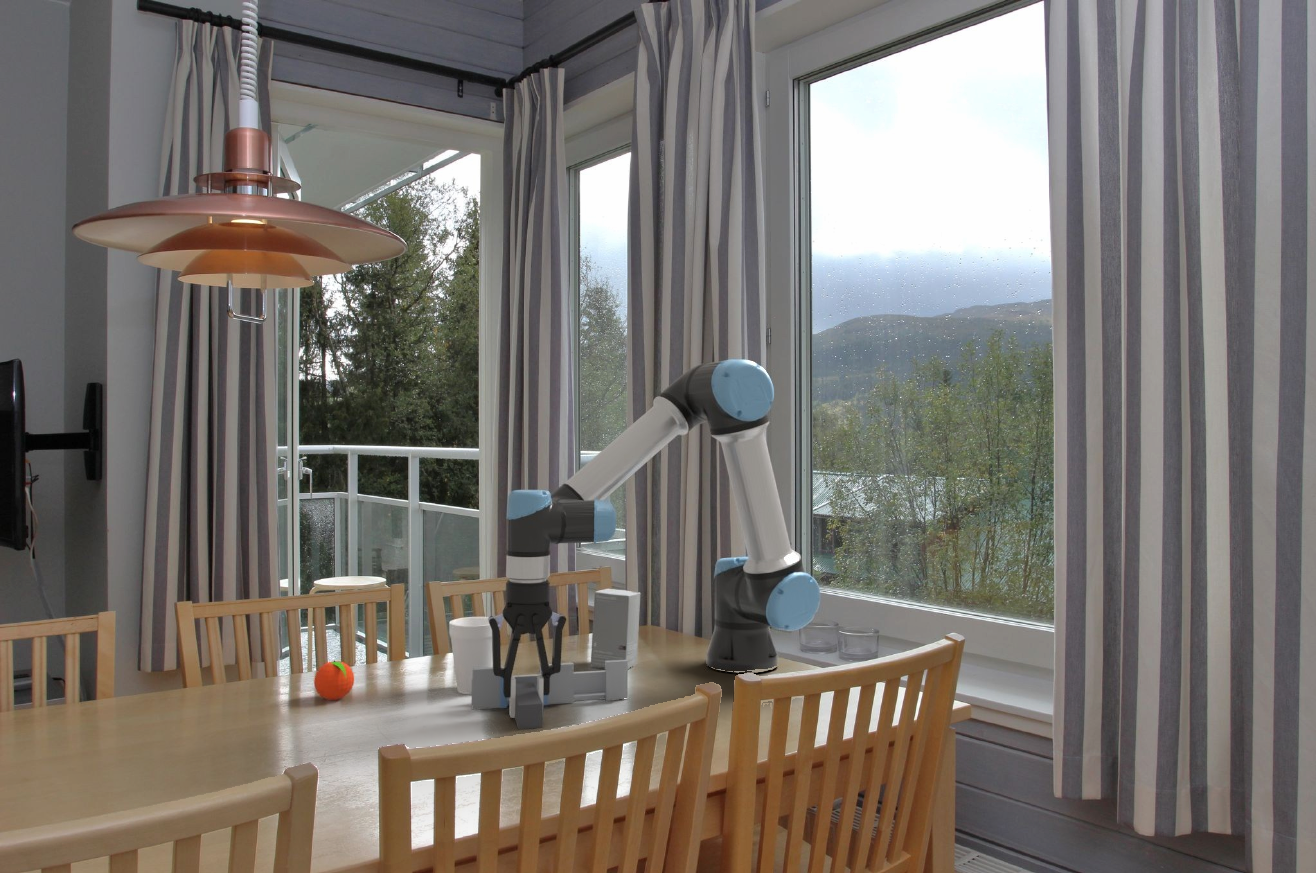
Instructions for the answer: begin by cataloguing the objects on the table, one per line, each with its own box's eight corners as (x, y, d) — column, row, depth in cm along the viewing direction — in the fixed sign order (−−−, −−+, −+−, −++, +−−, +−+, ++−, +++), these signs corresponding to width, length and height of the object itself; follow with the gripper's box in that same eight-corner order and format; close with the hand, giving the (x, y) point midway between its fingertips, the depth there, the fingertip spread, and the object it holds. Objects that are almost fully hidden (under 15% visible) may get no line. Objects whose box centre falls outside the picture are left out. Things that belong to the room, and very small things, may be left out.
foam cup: (487, 697, 173) (488, 627, 173) (440, 694, 175) (441, 625, 175) (506, 684, 183) (506, 617, 183) (461, 681, 184) (461, 615, 184)
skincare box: (590, 667, 196) (590, 592, 196) (604, 660, 203) (605, 586, 203) (627, 671, 193) (627, 594, 193) (640, 664, 200) (641, 589, 200)
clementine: (364, 700, 171) (364, 661, 171) (328, 708, 166) (328, 667, 166) (342, 691, 177) (342, 654, 177) (307, 699, 172) (307, 660, 172)
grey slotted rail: (622, 693, 177) (622, 655, 177) (628, 700, 172) (629, 662, 172) (471, 702, 170) (471, 664, 170) (473, 711, 165) (473, 671, 165)
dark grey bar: (533, 705, 169) (533, 682, 169) (542, 727, 156) (542, 703, 156) (511, 706, 168) (511, 684, 168) (518, 729, 155) (518, 705, 155)
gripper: (573, 575, 168) (571, 705, 168) (476, 577, 164) (474, 711, 164) (580, 581, 161) (578, 718, 161) (478, 583, 156) (476, 724, 156)
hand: (526, 714), depth 162 cm, fingers closed on dark grey bar, 4 cm apart
